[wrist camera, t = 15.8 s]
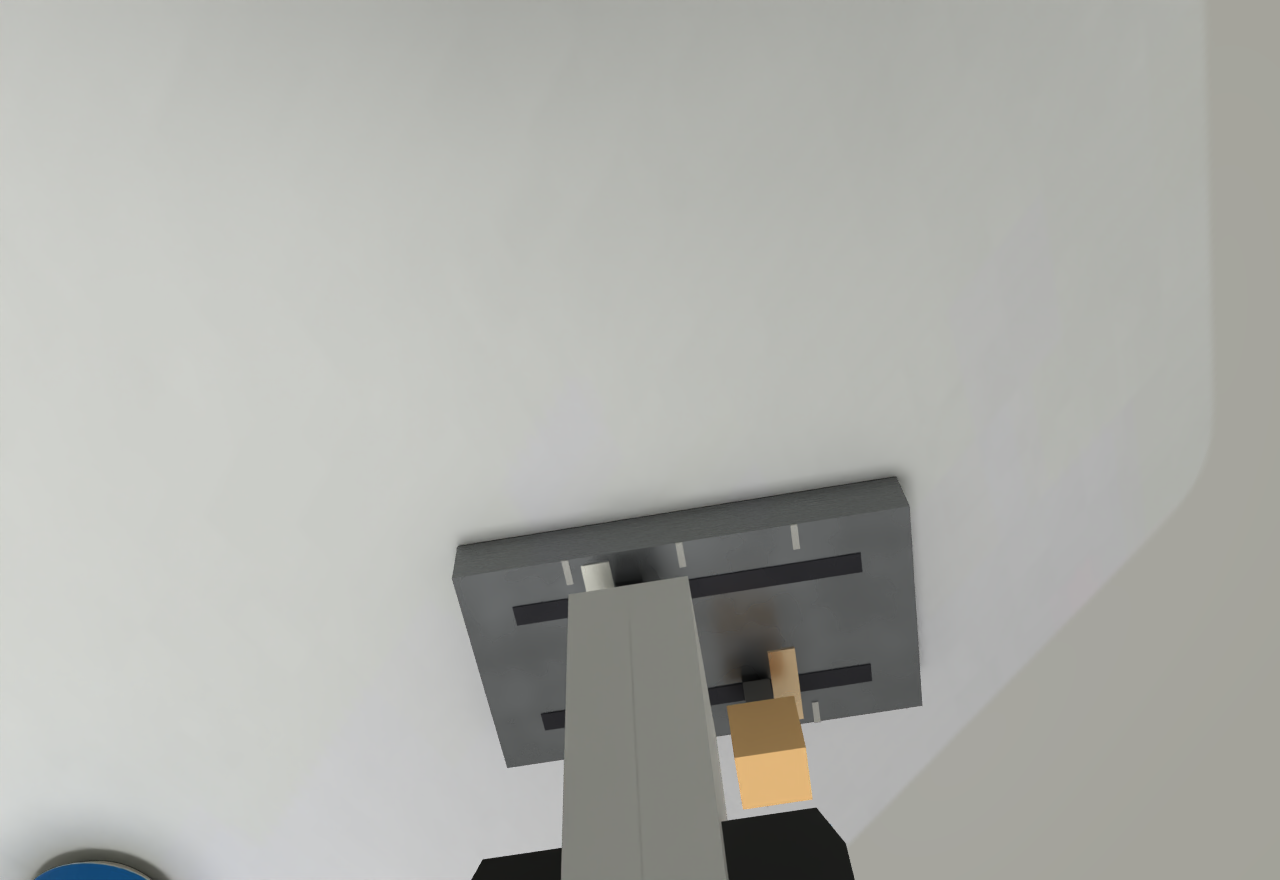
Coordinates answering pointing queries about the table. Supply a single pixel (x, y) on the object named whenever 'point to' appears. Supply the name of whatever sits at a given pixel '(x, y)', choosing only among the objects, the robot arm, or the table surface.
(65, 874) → the beverage can
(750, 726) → the fader
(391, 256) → the table surface
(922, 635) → the table surface
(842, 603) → the console
